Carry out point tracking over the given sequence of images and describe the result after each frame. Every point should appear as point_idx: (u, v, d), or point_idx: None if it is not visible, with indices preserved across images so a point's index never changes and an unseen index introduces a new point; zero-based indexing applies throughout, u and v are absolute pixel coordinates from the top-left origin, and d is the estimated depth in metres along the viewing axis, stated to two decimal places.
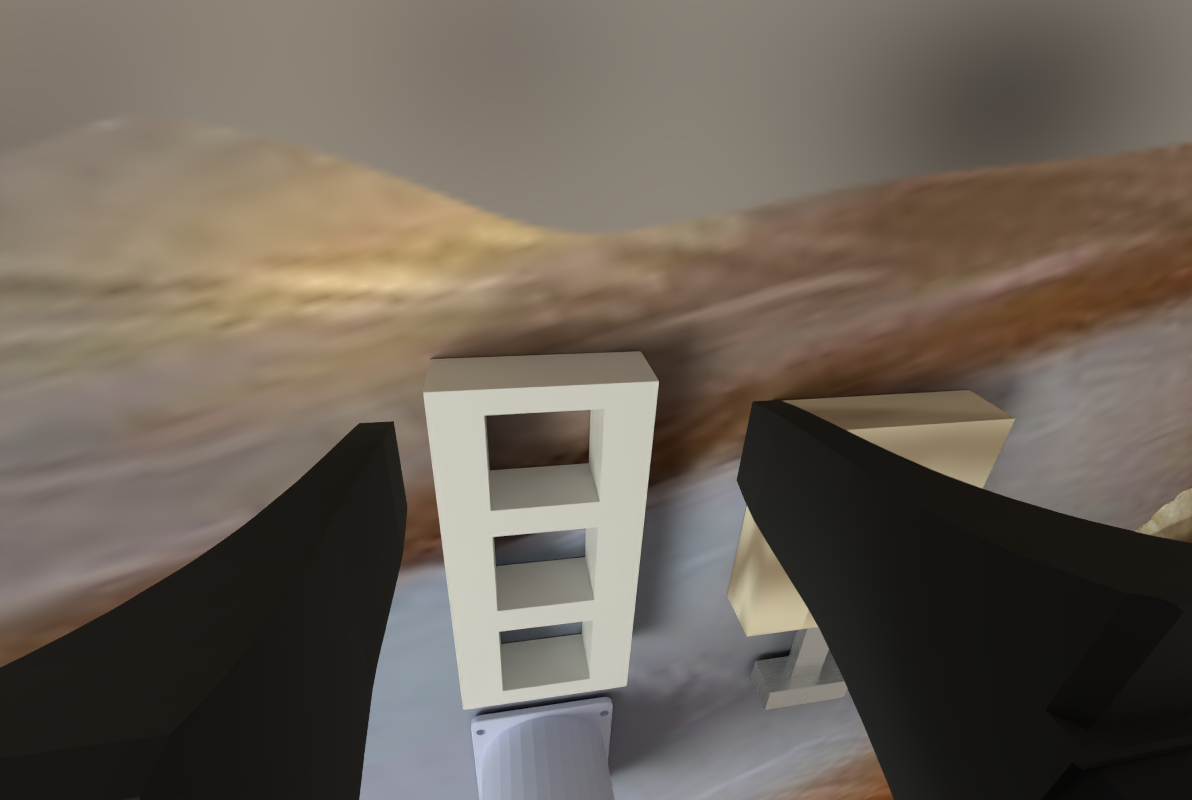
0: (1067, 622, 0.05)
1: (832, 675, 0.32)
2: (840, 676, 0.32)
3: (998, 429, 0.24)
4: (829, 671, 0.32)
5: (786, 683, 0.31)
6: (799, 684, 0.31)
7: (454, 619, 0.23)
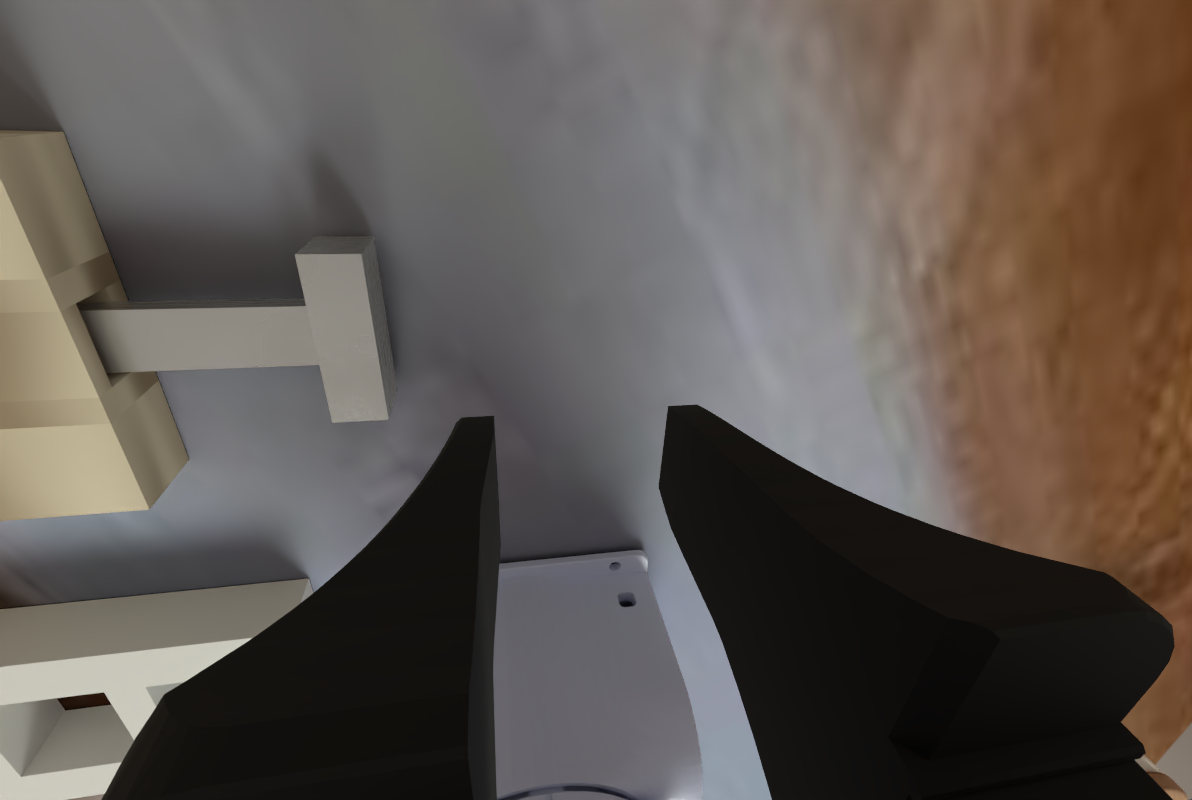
0: (903, 645, 0.05)
1: None
2: None
3: None
4: None
5: None
6: (321, 362, 0.16)
7: None
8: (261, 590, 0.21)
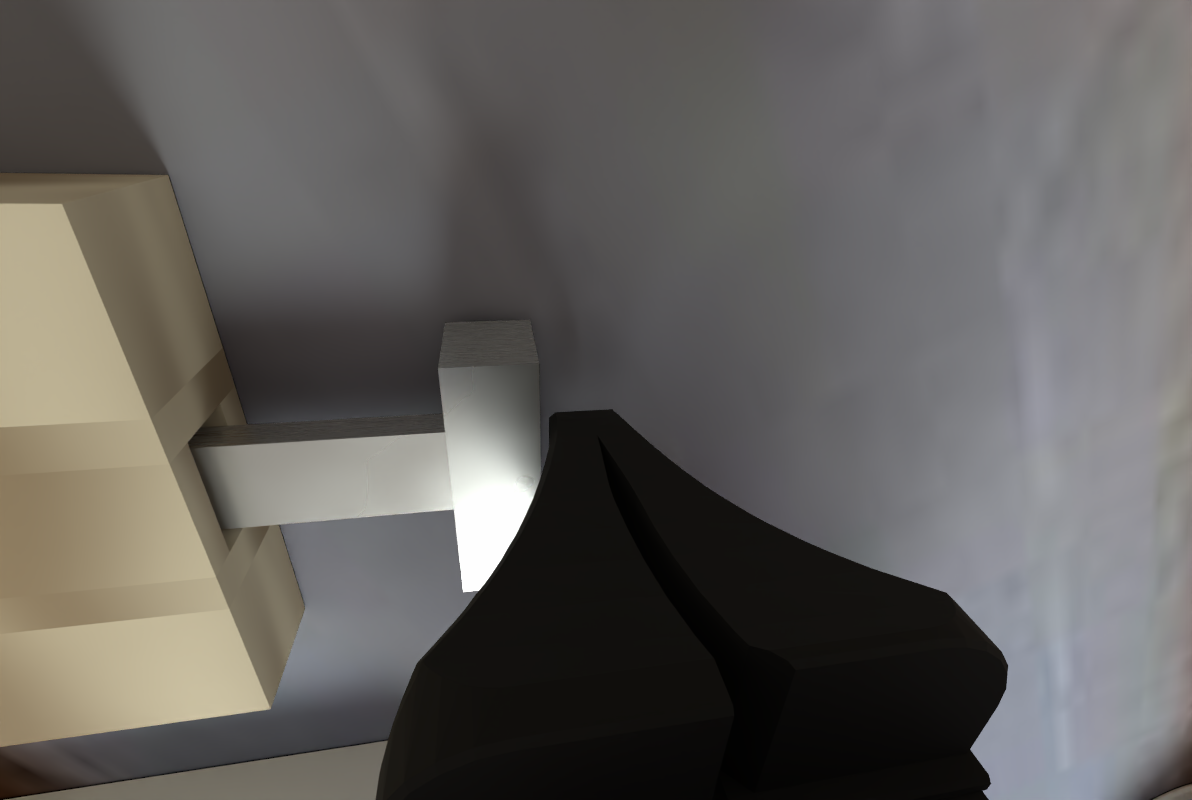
0: (723, 671, 0.05)
1: None
2: None
3: None
4: None
5: None
6: (455, 512, 0.10)
7: None
8: (380, 754, 0.16)
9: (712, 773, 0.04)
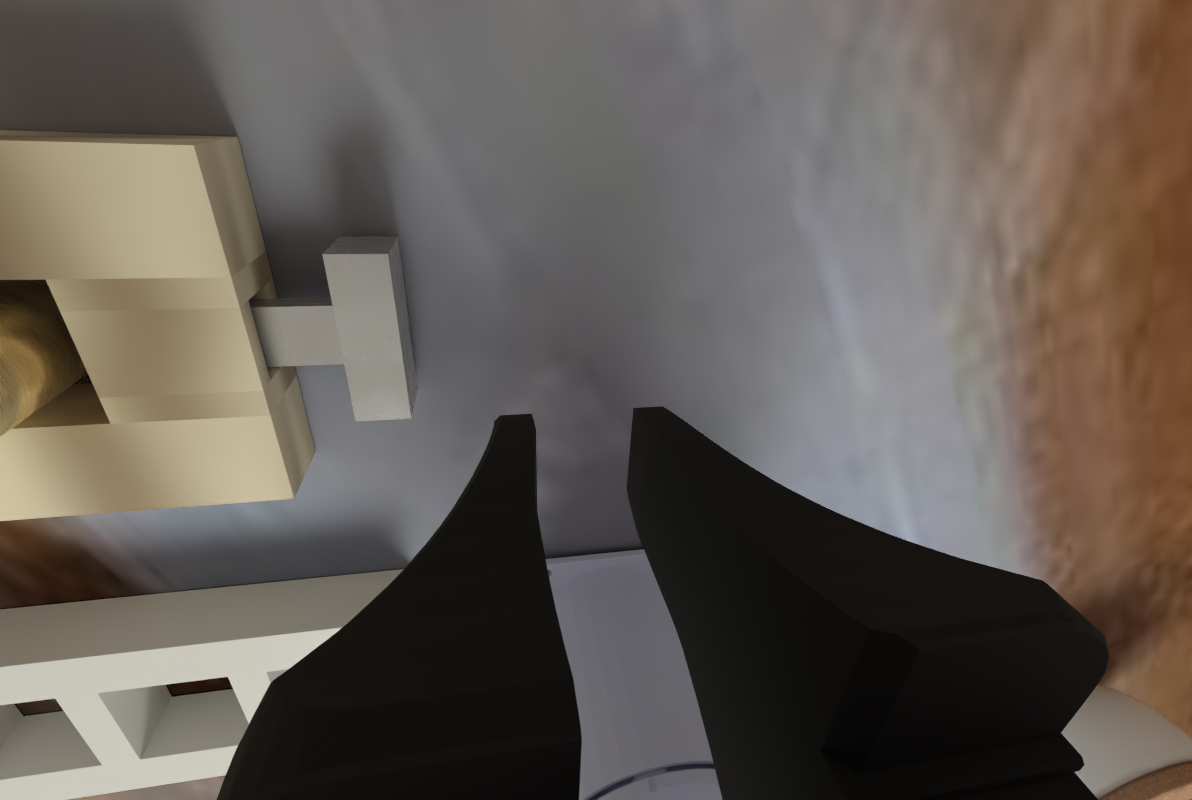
0: (832, 655, 0.05)
1: None
2: None
3: None
4: None
5: None
6: (345, 361, 0.16)
7: None
8: (369, 579, 0.22)
9: (571, 798, 0.04)
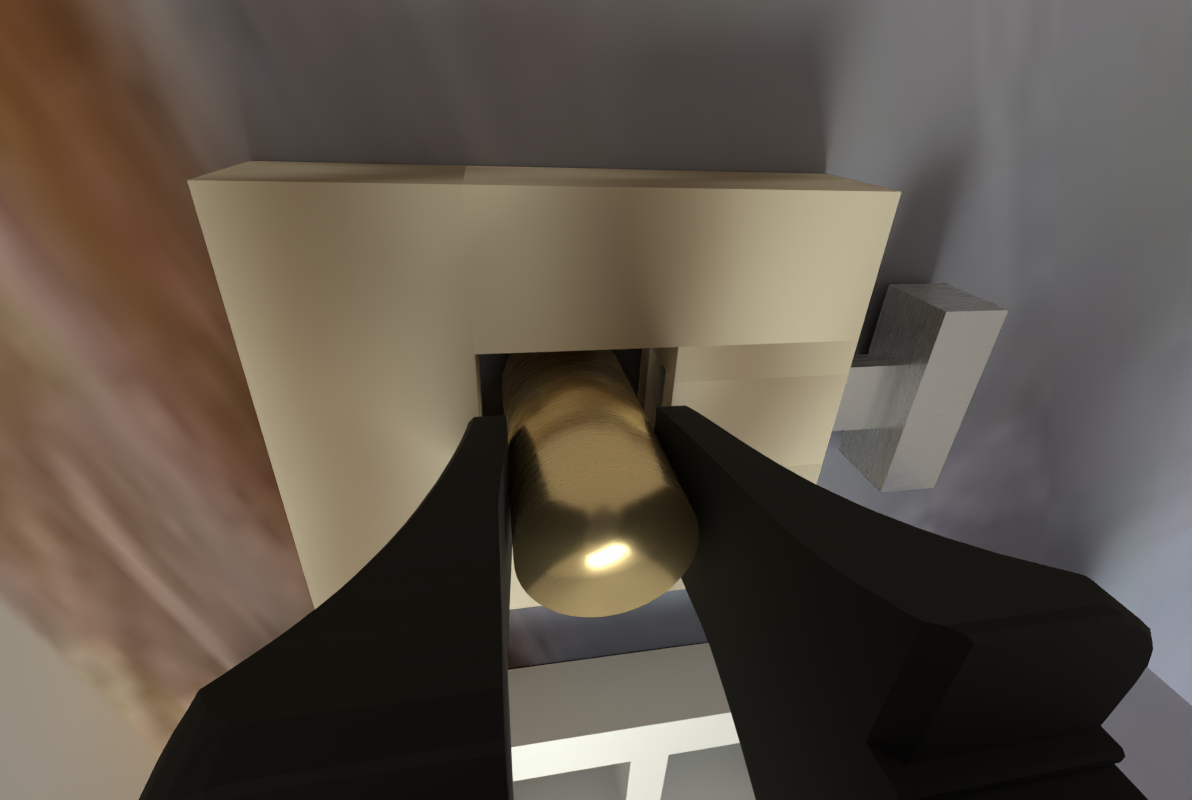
0: (879, 649, 0.05)
1: (919, 342, 0.13)
2: (929, 326, 0.13)
3: (235, 223, 0.09)
4: (911, 339, 0.13)
5: (884, 447, 0.14)
6: (897, 427, 0.14)
7: None
8: None
9: None
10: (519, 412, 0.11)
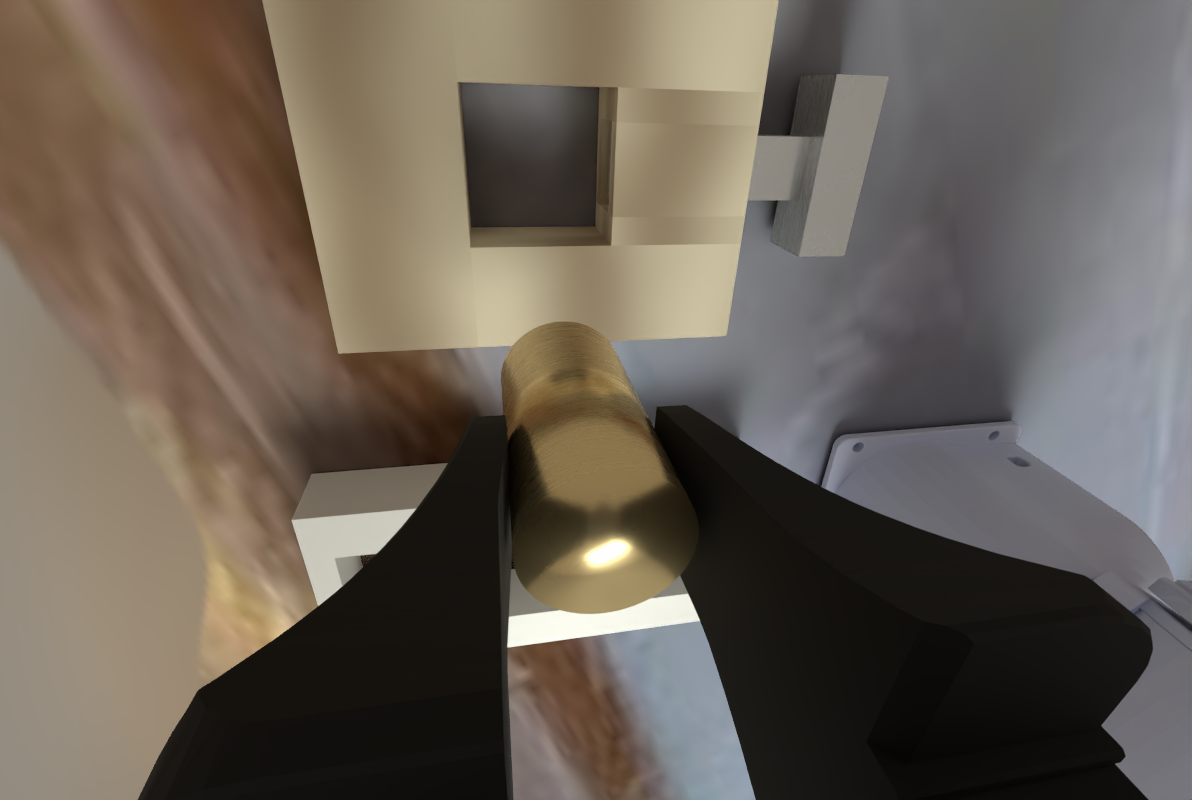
0: (880, 649, 0.05)
1: (820, 110, 0.16)
2: (827, 93, 0.16)
3: None
4: (815, 112, 0.16)
5: (800, 215, 0.17)
6: (808, 193, 0.17)
7: (601, 632, 0.24)
8: None
9: None
10: (519, 408, 0.11)
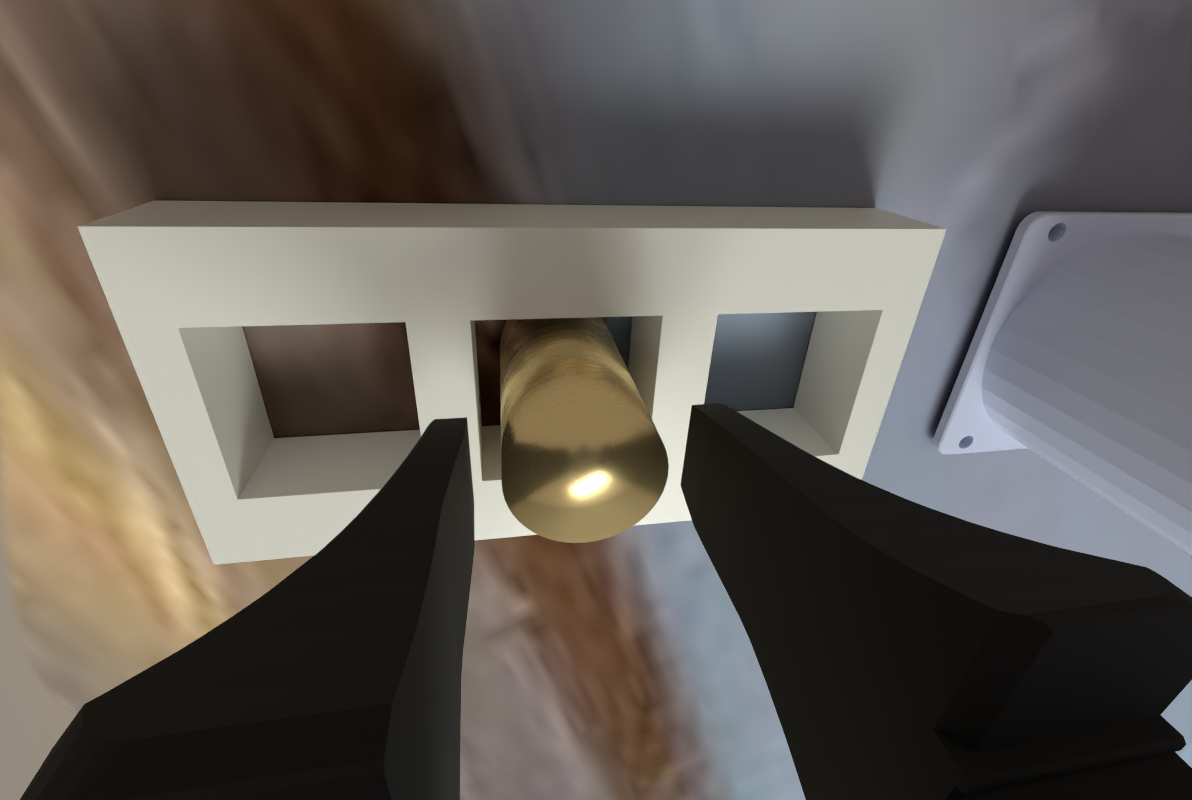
0: (950, 639, 0.05)
1: None
2: None
3: None
4: None
5: None
6: None
7: (648, 521, 0.15)
8: (828, 210, 0.14)
9: None
10: (513, 363, 0.12)
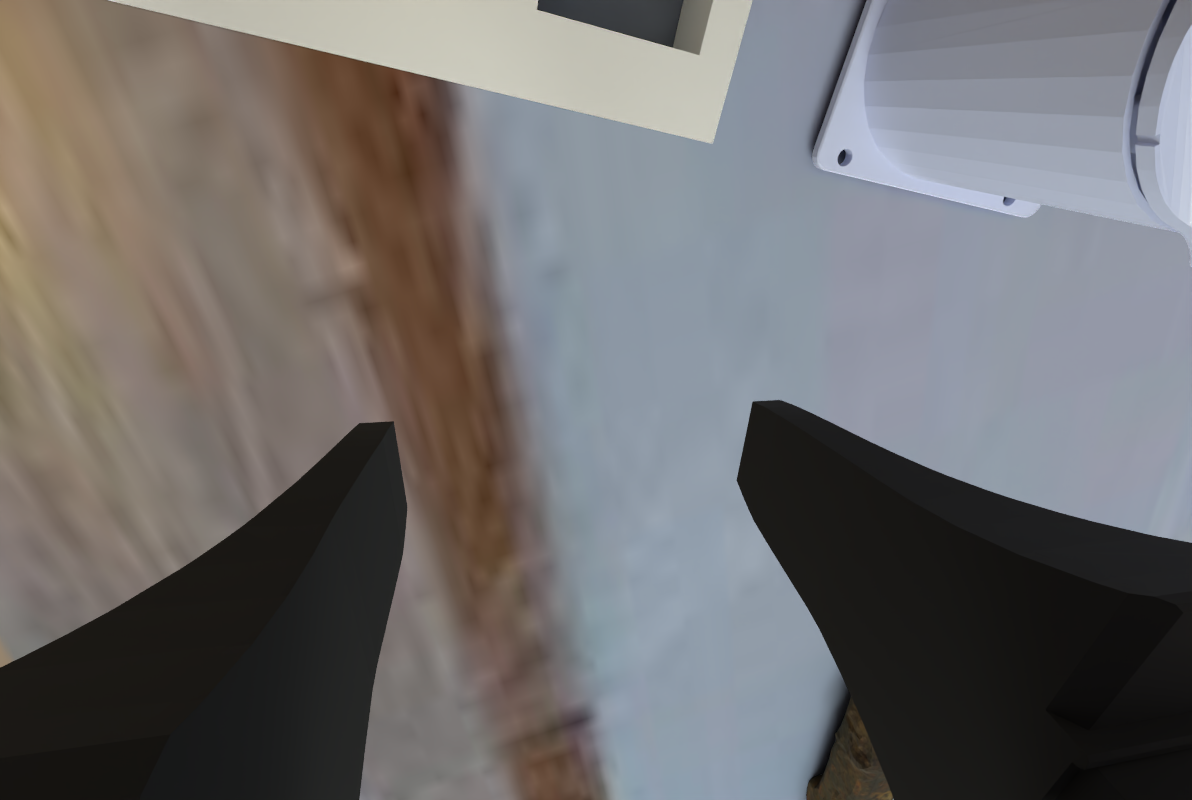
0: (1067, 621, 0.05)
1: None
2: None
3: None
4: None
5: None
6: None
7: (481, 83, 0.14)
8: None
9: None
10: None
